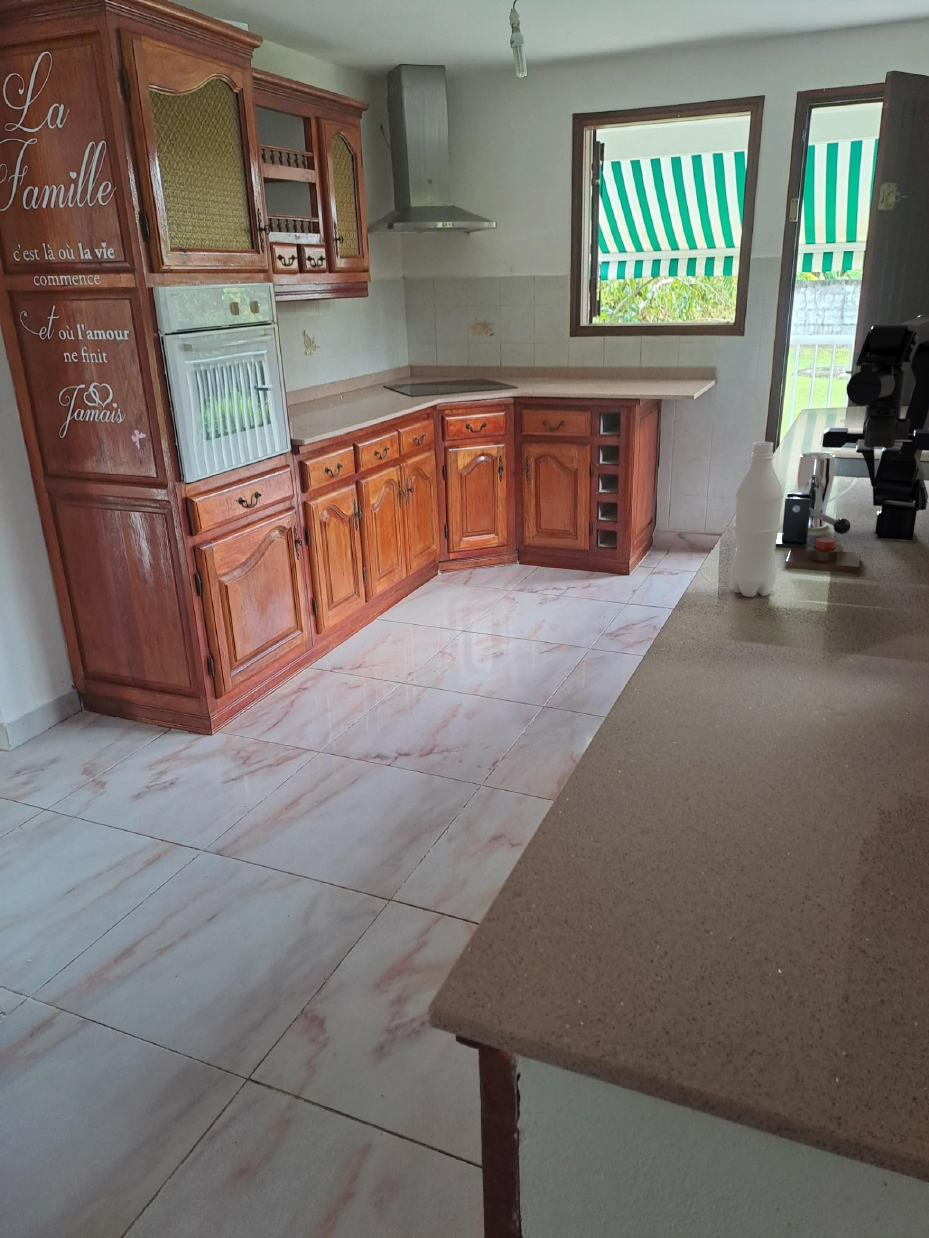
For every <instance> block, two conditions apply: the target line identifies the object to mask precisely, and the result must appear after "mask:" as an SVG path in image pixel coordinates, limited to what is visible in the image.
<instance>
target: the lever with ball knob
mask: <svg viewBox="0 0 929 1238" xmlns="http://www.w3.org/2000/svg"><path fill="white" fill-rule="evenodd" d="M793 498H799V497H797V496H794V497H793ZM809 514H810V515H812V516H814V517H816V518H818V519H820V520H822V521H824V522H826V524H829V525H831V526H832V528H833V530H834V532H835V533H837V534H839V535H844V534H847V533H848V532H849V531H850V529H851V523H850V521H849V519H847V518H845V517H841V518H838V519H836V518H833V517H831V516H829V515H827V514H826V515H825V514H823V513H821V512H819V511H816V510H814V509H812V508H810V507H809Z"/></svg>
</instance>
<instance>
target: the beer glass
mask: <svg viewBox="0 0 929 1238" xmlns="http://www.w3.org/2000/svg"><path fill="white" fill-rule="evenodd" d="M798 465H799V466H798V468H797V469H798V470H797V481H796V482H797V493H804V494H812V497H811V507H810V508H812V509H814V510H816V511H819V512H821V513H823V514H825V515H827V514H826V513H827V507H828V503H829V500H830V497H831V494H832V489H833V484H834V480H835V471H836V469H835V468H836V455H835V454H833V453H829V452H818V451H817V452H815V451H814V452H804V453H801V454H800V458H799V464H798ZM826 527H827V522H824V521H822V520H820V519H818V518H816V517H814V516H812V515H810V517H809V528H808V529H815V530H816V529H823V528H826Z"/></svg>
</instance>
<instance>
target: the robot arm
mask: <svg viewBox="0 0 929 1238" xmlns="http://www.w3.org/2000/svg"><path fill="white" fill-rule="evenodd" d="M857 357H858V358H857V360H856V363H855V365H856V367H860V371H858V372H856V373H854V375H852V376H851V377H850V379H849V380H848V383H847V384H846V395H847V398H848V399H849V401H850V402H852V403H853V404H855V405H857V406H861V407H864V406H865V410H864V411H865V413H864V421H863V425H862V432H849V427H827V428H826V429H825V430H824V431H823V432H824V433H823V435H822V443H821V444H822V445H821V447H822V448H827V449H828V448H829V449H830V448H831V449H833V448H834V449H842V448H843V447H844V446H845V445H846V444H855V445H856V448H855V453H857V454H861V455H862V457H863V459H864V462H865V464H866V468H867V472H868V476H869V477H868V478H869V481H870V485H871V487H872V506H874V507H881V508H880V510H878V511H877V514H876V522H875V529H874V533H875V535H876V537H877V539H885V540H886V539H887V540H902V541H903V540H904V541H914V540H915V527H916V519H917V515H918V514H917V512H919V511H925V510H927V505H928V501H929V500H928V499H929V493H928V490H927V486H926V483H925V480H924V479H925V475H926V474H925V471H924V468H923V465H922V463H921V461H920V460H921V457H922V454H923V451H929V314H920V315H918V316H915V318H913V319H910V320H907V321H905V322H902V323H876V324H874V325H873V326H872V327H871V328H870V330H869V331H868V332H867V333H866V336H865V339H864V342H863V344H862V347H861V350H860V352H859V354H858V356H857ZM909 363H910V369H911V372H912V375H913V377H914V380H915V381H914V384H913V388H912V391H911V395H910V399H909V402H908V405H907V409H906V412H905V416H904V418H901V414H902V405H903V397H904V396H903V395H904V391H905V383H906V382H905V381H906V372H907V370H908V369H909V365H908V364H909ZM875 448H882V449H881V451H880V452H881V453H880V456H879V460H878V465H877V468H876V462H875V461H876V459H875V457H876V456H875V455H876V453H875Z"/></svg>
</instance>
